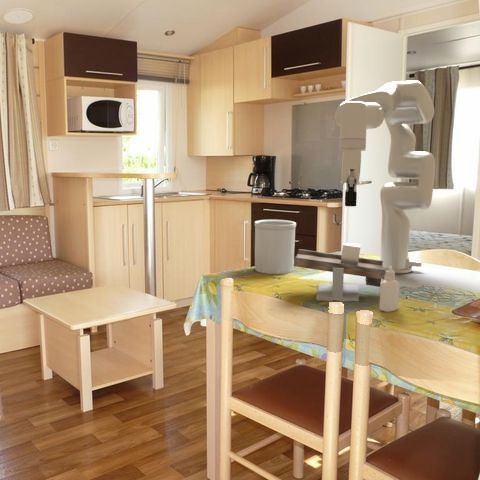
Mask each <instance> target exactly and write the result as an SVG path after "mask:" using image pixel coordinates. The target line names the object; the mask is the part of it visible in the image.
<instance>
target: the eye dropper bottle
mask: <svg viewBox="0 0 480 480" xmlns="http://www.w3.org/2000/svg"><path fill="white" fill-rule="evenodd" d="M395 278H396V273H395V272H394V271H393V270H392V267H391V266H390V267H389V270H388V271H386V273H385V279H383V281H381V285H380V287H379V288H380V289H379V307H378V308H379V309H378V310H379V311H381V312H385V313H386V312H387V313H388V312H394V311H397V310H398V309H399V299H400V283H399V281H397V280H396V279H395Z"/></svg>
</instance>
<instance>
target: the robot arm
mask: <svg viewBox="0 0 480 480" xmlns="http://www.w3.org/2000/svg"><path fill="white" fill-rule="evenodd" d="M434 115H435V106H434V101H433V100H432V98H431V96H430V94H429V92H428V90H427V88H426V87H425V86H424V84H423V83H422V82H420V81H419V80H405V81H404V80H403V81H402V80H400V81H391V82H387V83H385V84H384V85H383V86H381V87H380V88H378V89H377V90H375V91H372V92H368V93H364V94H362V95H358V96H355V97H352V98H348V99H347V100H345V101H343V102H341V103H340V104H339V105H338V106H337V108H336V110H335V114H334V119H335V123H336V125H337V126H338V127H339V145H338V146H339V148H338V149H339V151H342V157H341V183H340V184H341V185H342V186H345V184H346V186H345V187H346V188H345V192H344V206H345V207H356V206H357V198H358V197H357V195H358V192H357V186H358V185H359V183H360V176H361V166H362V165H361V163H362V152H363V151H364V152H365V151H366V150H367V149H366V148H367V130H369V129H370V130H372V129H377V128H378V127H380V126H381V125H382V124H383V122H384V121H385V124H386V127H387V129H388V131H389V135H390V148H389V156H388V164H387V171H388V172H387V173H388V175H389V176H390V177H391V178H394V179H400V180H401V179H404V180H406V179H407V180H418V182H408V181H390V182H386V183H384V184H383V185H382V187H381V189H380V191H379V192H380V195H379V197H380V205H381V235H380V236H381V237H380V240H381V241H380V256H379V257H380V261H383V264H382V266H383V269H384V270H385V274H386V271H388V270H389V267H390V266H391V267H392V270H393V271H394V272H395V274H409V273H411V272H412V271H413V268H412V267H422V261H420V260H412V259H410V258H409V240H410V239H409V238H410V220H409V217H408V215H407V214H406V212H405V211H406V210H409V211H427V210H429V208H430V207H431V205H432V199H433V193H434V186H435V185H434V183H435V177H436V159H435V157H434V155H433V153H431V152H429V151H416V142H417V138H416V135H415V133H414V132H413V130H412V129H411V128H410V126H409V125H424V124H428V123H430V122H431V121H432V120H433V118H434Z"/></svg>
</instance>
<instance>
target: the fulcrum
mask: <svg viewBox="0 0 480 480" xmlns="http://www.w3.org/2000/svg"><path fill="white" fill-rule="evenodd" d="M343 272H344V268H337V267H333V272H332V283H323V282H321V283H320V282H319V285H318V288H317V292H316V298H315V300H316V301H324V302H327V301H328V302H334V301H333V300H341V301H340V302H345V301H359V299H360V298H359V296H360V295H359V285H358V284H350V283H349V284H348V283H346V284H344V275H345V274H343Z"/></svg>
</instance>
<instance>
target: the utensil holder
mask: <svg viewBox="0 0 480 480" xmlns="http://www.w3.org/2000/svg"><path fill="white" fill-rule="evenodd" d="M296 227H297V222H295V221H292V220H285V219H259V220H255V221H254V228H255V229H254V270H255V271H256V272H258V273H261V274H267V275H268V274H269V275H285V274H290V273H292V272H293V271H294V258H295V243H296V242H295V241H296Z"/></svg>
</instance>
